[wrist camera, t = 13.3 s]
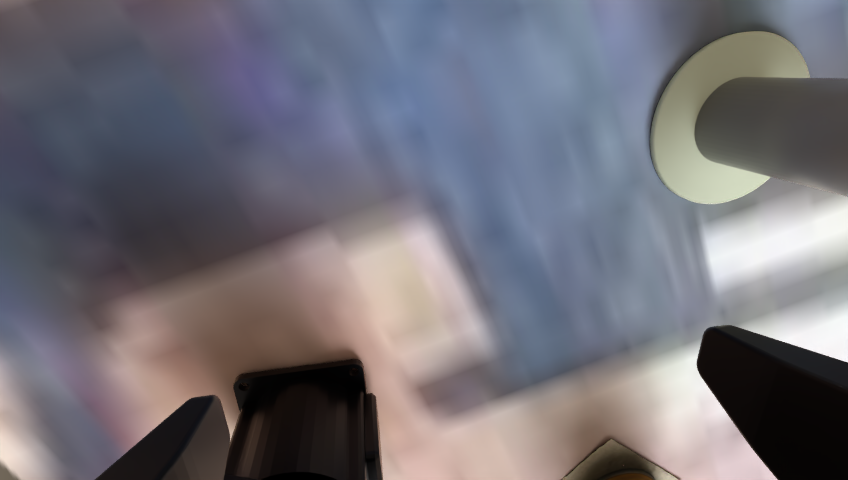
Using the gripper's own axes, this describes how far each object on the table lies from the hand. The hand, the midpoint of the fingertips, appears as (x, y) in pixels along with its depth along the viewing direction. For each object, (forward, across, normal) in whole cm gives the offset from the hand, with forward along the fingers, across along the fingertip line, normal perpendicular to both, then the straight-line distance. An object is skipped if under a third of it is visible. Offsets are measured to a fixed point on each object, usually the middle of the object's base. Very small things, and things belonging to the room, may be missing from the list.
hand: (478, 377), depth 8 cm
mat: (+13, -16, -2) cm, 21 cm away
